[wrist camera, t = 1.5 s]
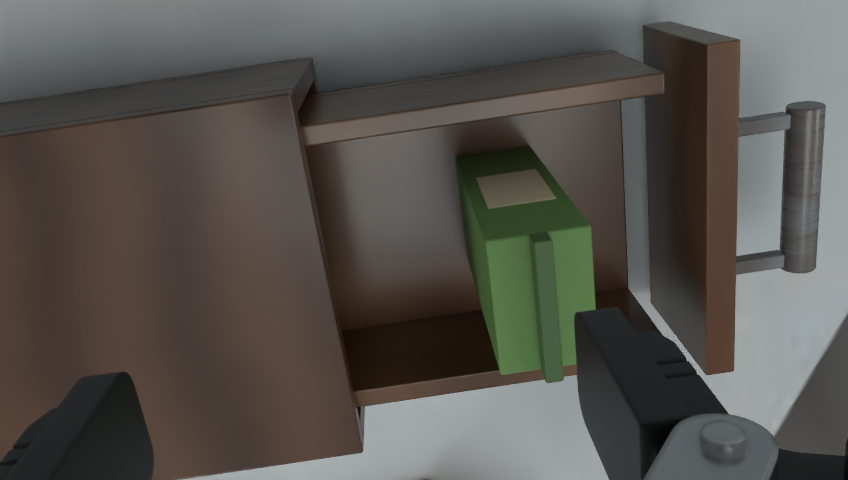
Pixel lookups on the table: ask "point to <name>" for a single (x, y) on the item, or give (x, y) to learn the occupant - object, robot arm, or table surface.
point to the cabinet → (175, 268)
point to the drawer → (577, 175)
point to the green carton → (525, 259)
